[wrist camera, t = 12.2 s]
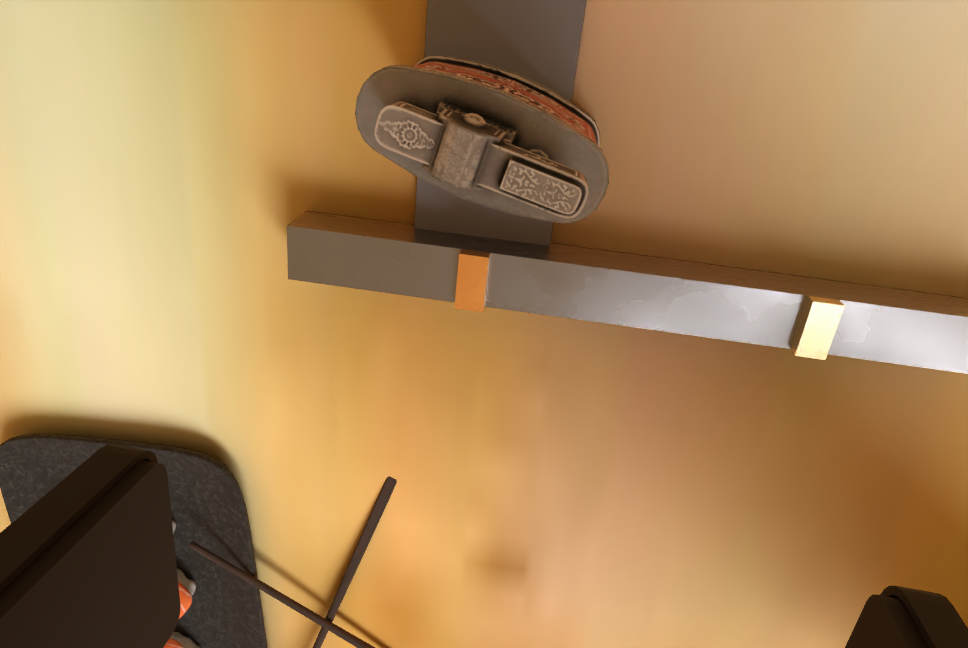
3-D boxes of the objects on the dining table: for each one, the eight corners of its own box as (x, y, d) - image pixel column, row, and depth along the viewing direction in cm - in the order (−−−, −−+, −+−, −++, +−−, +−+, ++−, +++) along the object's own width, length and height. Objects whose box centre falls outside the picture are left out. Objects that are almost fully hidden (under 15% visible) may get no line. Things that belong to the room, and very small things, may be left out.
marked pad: (591, -34, 25) (591, -35, 24) (549, 247, 29) (549, 250, 29) (432, -51, 25) (430, -52, 25) (415, 229, 30) (413, 232, 29)
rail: (997, 302, 28) (1043, 332, 25) (974, 352, 29) (1015, 386, 26) (307, 210, 30) (281, 229, 27) (308, 261, 31) (282, 284, 28)
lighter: (398, 119, 28) (314, 167, 18) (423, 35, 26) (345, 43, 17) (579, 190, 28) (583, 272, 19) (613, 112, 26) (636, 159, 17)
